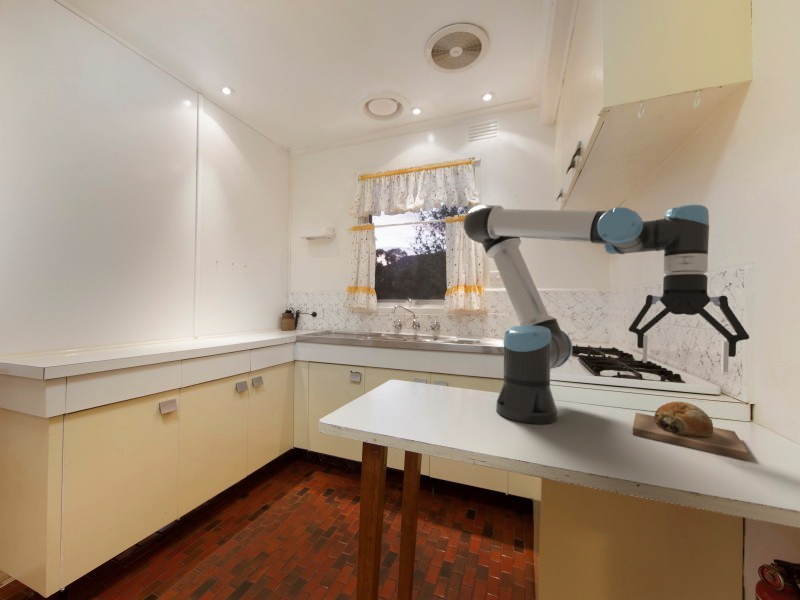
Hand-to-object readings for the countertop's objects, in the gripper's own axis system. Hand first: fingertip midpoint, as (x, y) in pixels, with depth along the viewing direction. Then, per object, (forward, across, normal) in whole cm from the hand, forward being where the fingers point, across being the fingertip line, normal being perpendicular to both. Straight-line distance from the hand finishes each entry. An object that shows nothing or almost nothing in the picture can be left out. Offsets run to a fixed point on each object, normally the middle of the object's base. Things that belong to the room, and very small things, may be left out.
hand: (682, 366), depth 72 cm
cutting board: (+16, 0, 0) cm, 16 cm away
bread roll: (+14, 0, 0) cm, 15 cm away
